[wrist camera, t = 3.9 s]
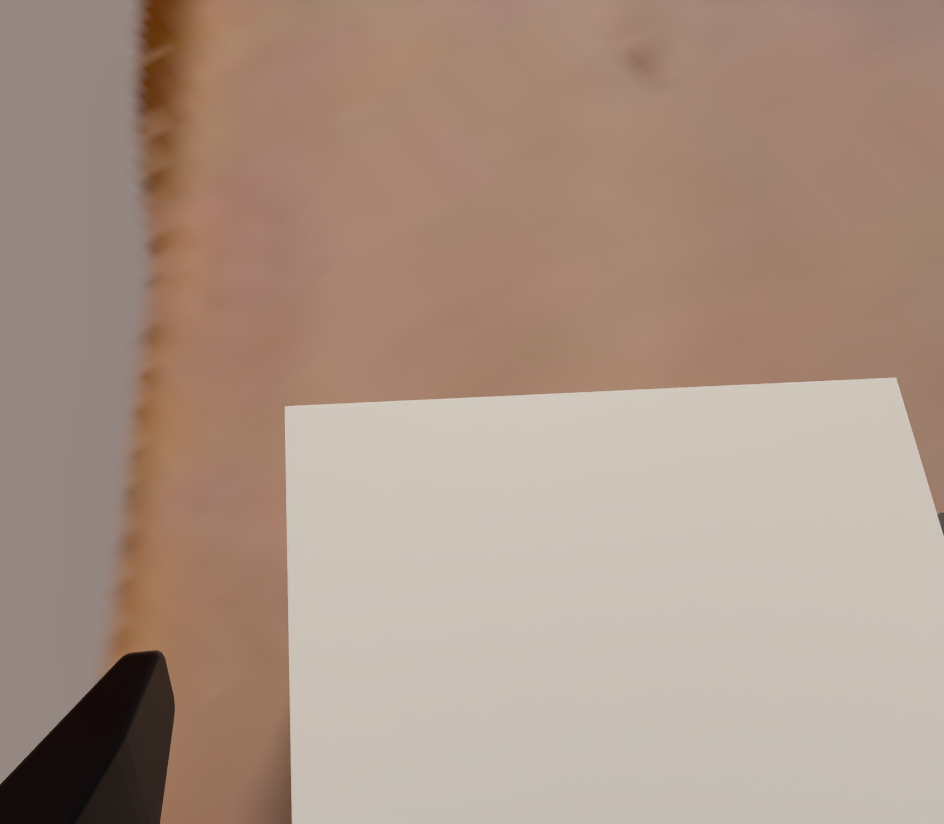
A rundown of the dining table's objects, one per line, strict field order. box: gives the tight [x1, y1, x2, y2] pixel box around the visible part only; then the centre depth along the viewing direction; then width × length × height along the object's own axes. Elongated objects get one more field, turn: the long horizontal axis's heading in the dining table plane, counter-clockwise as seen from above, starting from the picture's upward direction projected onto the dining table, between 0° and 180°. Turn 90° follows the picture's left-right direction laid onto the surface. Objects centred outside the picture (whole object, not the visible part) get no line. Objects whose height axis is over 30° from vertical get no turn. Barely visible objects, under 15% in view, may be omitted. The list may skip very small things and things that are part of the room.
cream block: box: [285, 378, 944, 824], centre depth 10 cm, size 5×5×12 cm
